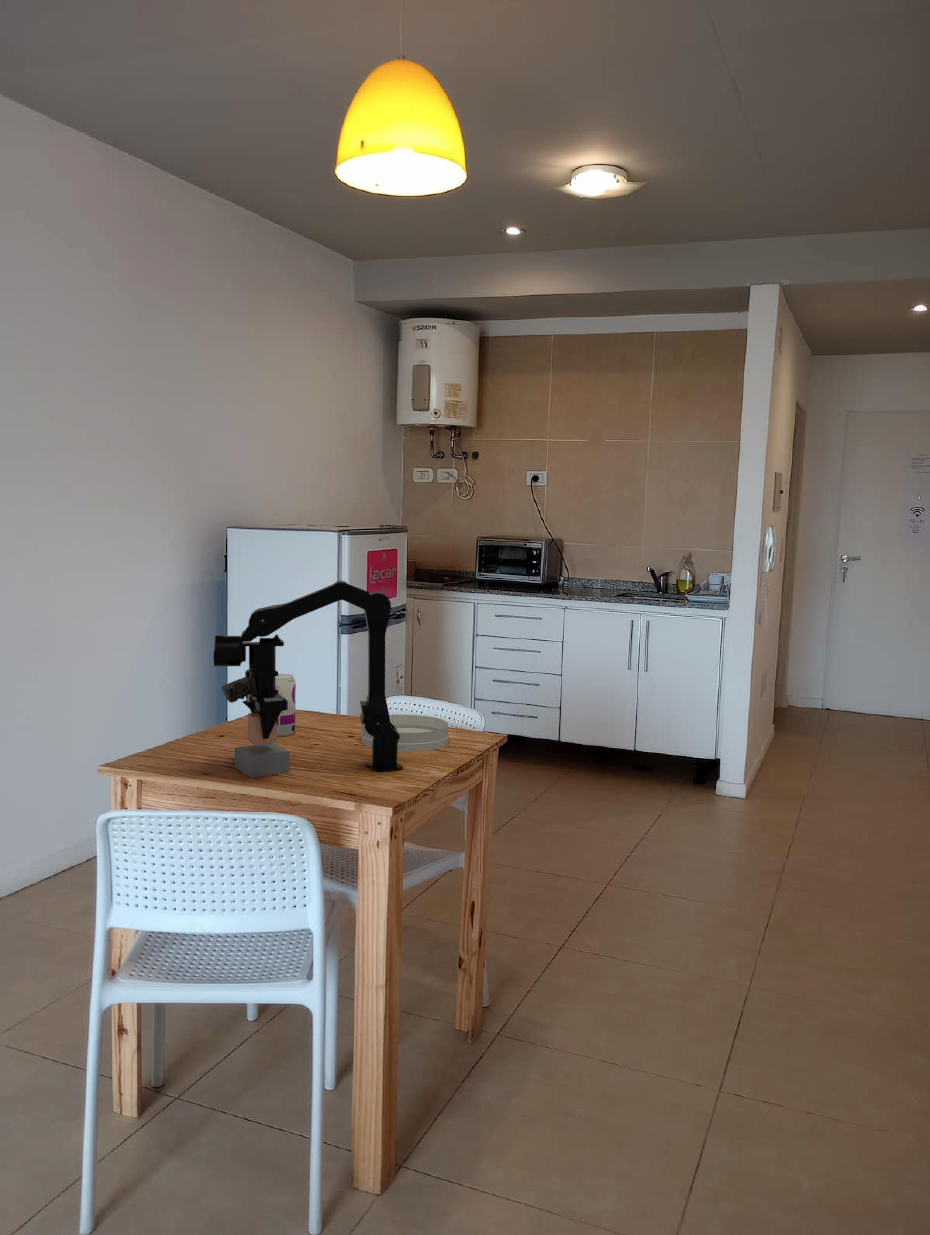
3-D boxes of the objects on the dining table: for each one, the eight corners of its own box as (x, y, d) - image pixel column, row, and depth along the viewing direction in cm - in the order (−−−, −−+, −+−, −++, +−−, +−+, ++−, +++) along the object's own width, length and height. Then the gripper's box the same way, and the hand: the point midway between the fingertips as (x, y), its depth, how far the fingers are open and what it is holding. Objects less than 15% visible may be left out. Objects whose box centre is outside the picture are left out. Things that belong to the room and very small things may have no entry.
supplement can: (295, 729, 258) (295, 673, 257) (295, 736, 250) (295, 678, 249) (263, 730, 257) (263, 673, 255) (262, 737, 249) (262, 679, 247)
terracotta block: (276, 743, 215) (276, 716, 215) (254, 745, 213) (254, 717, 212) (270, 738, 220) (270, 711, 219) (248, 740, 218) (247, 713, 217)
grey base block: (289, 773, 216) (289, 751, 215) (250, 778, 211) (250, 756, 210) (272, 764, 223) (272, 742, 223) (234, 769, 218) (234, 747, 218)
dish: (464, 740, 253) (464, 721, 252) (420, 757, 233) (421, 737, 233) (390, 729, 263) (391, 711, 262) (343, 745, 243) (343, 725, 243)
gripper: (215, 661, 219) (215, 730, 221) (236, 674, 203) (236, 748, 204) (264, 659, 224) (264, 726, 226) (288, 671, 208) (288, 744, 210)
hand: (262, 736), depth 216 cm, fingers closed on terracotta block, 5 cm apart
